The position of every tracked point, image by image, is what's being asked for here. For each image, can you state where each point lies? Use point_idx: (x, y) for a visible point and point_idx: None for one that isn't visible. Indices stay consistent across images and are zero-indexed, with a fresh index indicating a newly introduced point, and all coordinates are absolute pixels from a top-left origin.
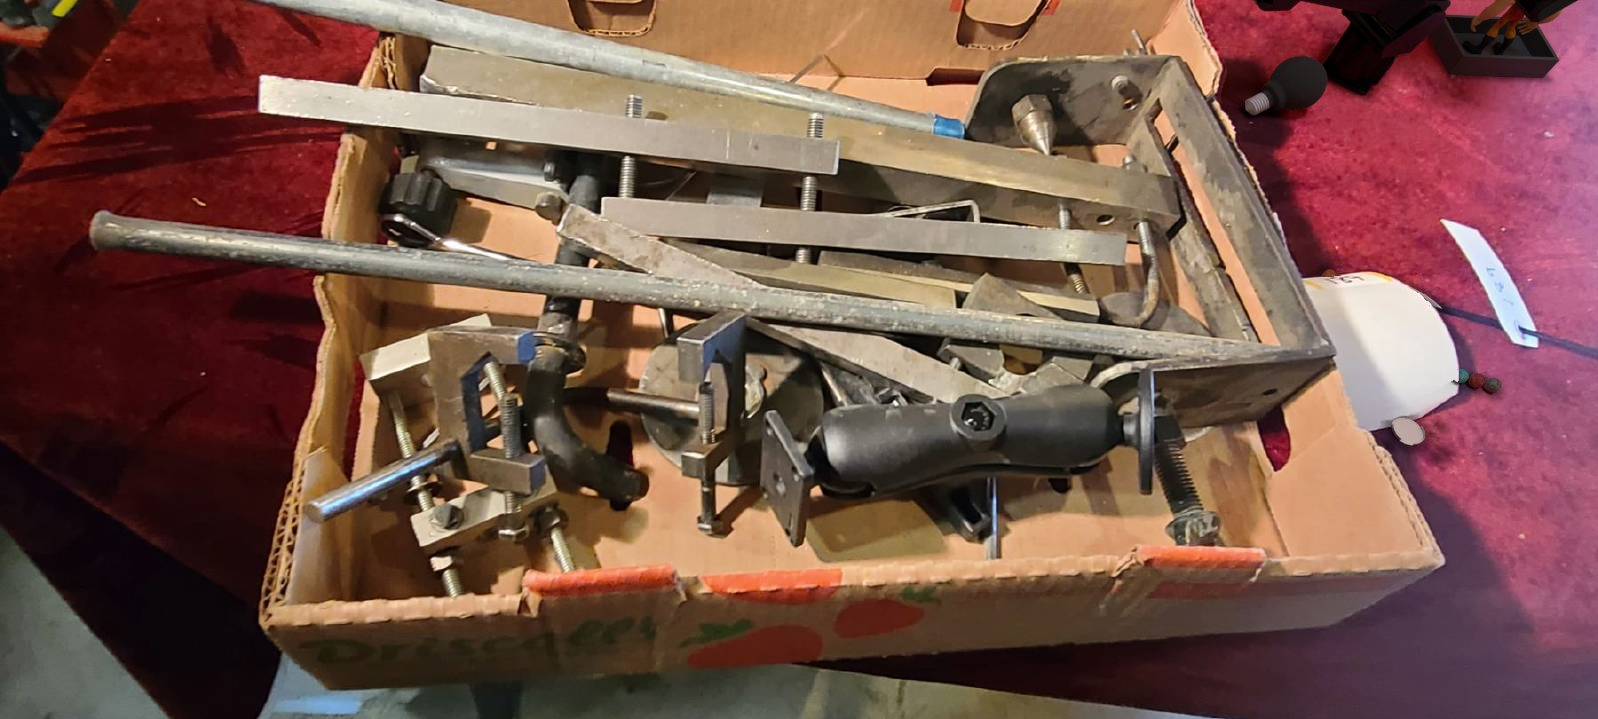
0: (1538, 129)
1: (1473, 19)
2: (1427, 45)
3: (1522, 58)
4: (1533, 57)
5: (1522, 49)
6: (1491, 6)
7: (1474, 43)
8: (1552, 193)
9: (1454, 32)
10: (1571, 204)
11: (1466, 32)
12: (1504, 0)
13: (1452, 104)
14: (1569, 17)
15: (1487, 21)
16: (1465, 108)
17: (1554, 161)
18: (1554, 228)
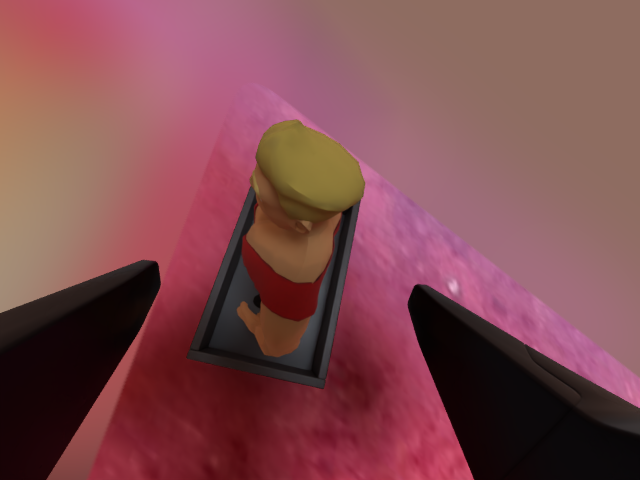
0: (444, 294)
1: (242, 318)
2: (233, 373)
3: (348, 260)
4: (349, 238)
5: None
6: (275, 353)
7: None
8: (556, 359)
9: (223, 303)
10: (570, 343)
11: (231, 280)
12: (293, 343)
13: (385, 419)
14: (244, 92)
15: (235, 251)
16: (396, 397)
17: (500, 313)
18: None
